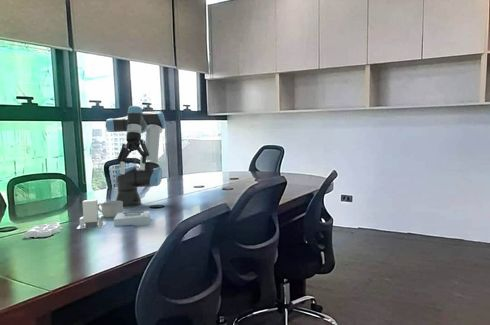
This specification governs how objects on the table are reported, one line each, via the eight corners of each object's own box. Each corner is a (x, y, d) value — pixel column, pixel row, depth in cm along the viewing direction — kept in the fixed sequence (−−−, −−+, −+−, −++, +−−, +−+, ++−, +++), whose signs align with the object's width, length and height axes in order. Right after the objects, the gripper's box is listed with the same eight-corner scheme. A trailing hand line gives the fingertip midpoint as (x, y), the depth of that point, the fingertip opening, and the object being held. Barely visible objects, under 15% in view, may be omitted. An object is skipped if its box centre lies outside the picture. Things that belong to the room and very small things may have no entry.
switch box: (118, 220, 201) (117, 212, 200) (150, 218, 204) (149, 210, 203) (114, 227, 187) (113, 218, 187) (149, 224, 190) (148, 215, 190)
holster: (80, 225, 194) (80, 215, 193) (106, 223, 196) (105, 213, 195) (76, 230, 184) (75, 220, 183) (103, 228, 186) (102, 218, 186)
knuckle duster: (34, 230, 188) (67, 228, 190) (20, 241, 170) (56, 238, 173) (34, 223, 188) (67, 221, 190) (20, 233, 170) (56, 231, 173)
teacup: (127, 215, 212) (126, 200, 212) (114, 220, 202) (113, 204, 201) (106, 214, 217) (105, 200, 216) (92, 219, 207) (91, 204, 206)
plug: (85, 224, 191) (84, 200, 190) (98, 223, 192) (97, 199, 191) (84, 226, 187) (82, 201, 186) (97, 225, 188) (95, 200, 187)
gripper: (111, 136, 215) (109, 173, 209) (147, 126, 204) (146, 166, 198) (121, 140, 222) (119, 177, 215) (156, 131, 211) (155, 169, 205)
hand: (132, 171), depth 207 cm, fingers open, 13 cm apart
